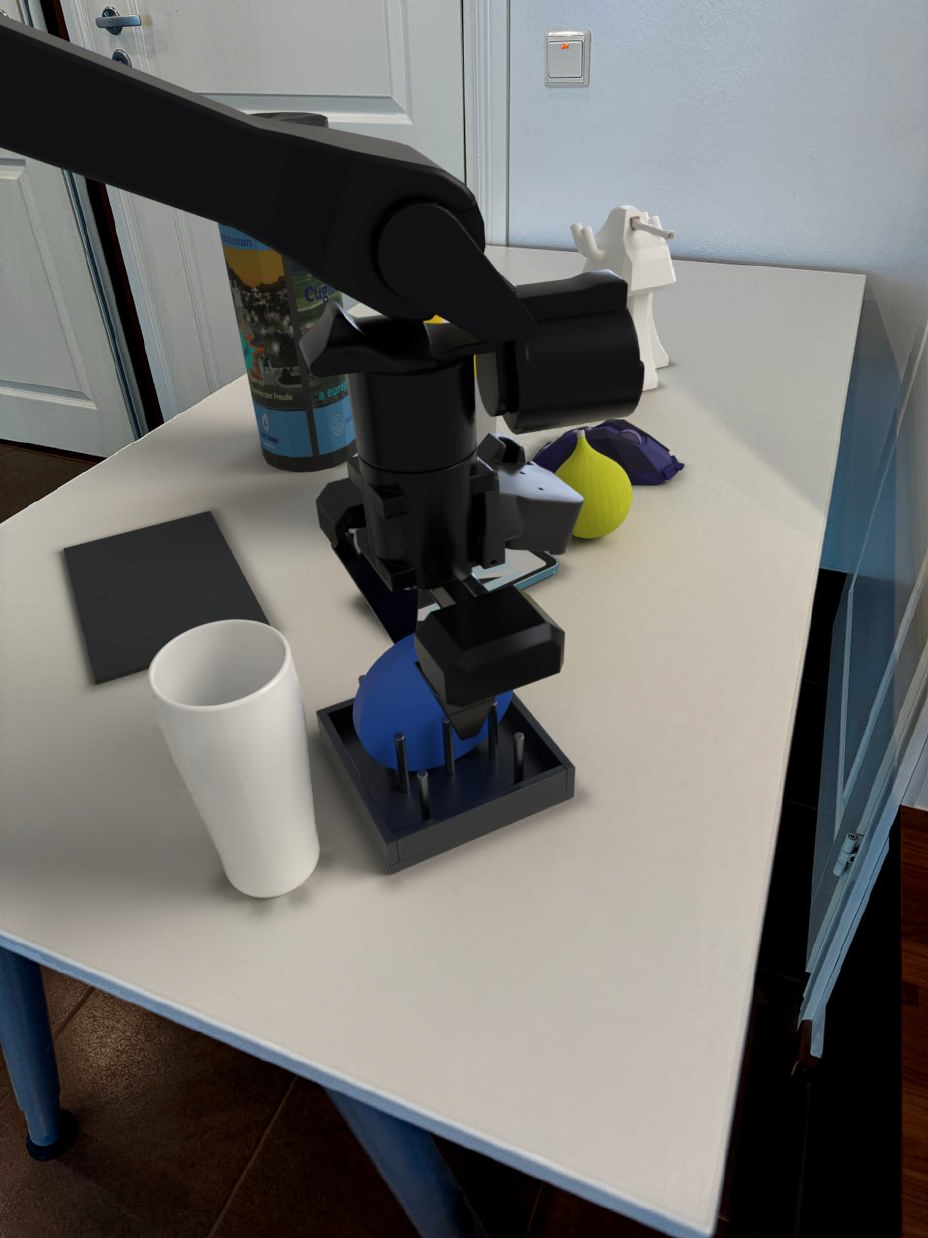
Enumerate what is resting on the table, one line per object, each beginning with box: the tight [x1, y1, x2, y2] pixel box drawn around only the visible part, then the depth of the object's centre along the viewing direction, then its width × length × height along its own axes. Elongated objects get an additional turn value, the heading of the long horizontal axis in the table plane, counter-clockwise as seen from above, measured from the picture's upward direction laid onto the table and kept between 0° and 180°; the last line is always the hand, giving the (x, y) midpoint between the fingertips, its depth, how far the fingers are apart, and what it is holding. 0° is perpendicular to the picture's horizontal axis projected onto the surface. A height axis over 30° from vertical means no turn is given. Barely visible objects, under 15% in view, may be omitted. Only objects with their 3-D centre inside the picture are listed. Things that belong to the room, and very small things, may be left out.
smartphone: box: [417, 549, 560, 628], centre depth 70 cm, size 7×1×15 cm
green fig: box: [554, 427, 634, 539], centre depth 74 cm, size 7×7×10 cm
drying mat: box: [63, 510, 272, 685], centre depth 72 cm, size 13×20×1 cm, turn 26°
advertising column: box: [217, 111, 358, 473], centre depth 82 cm, size 11×11×30 cm
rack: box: [315, 674, 576, 875], centre depth 54 cm, size 12×12×5 cm
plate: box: [353, 633, 514, 771], centre depth 52 cm, size 1×10×10 cm, turn 116°
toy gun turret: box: [570, 204, 677, 392], centre depth 99 cm, size 12×13×18 cm
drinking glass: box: [146, 619, 321, 899], centre depth 45 cm, size 7×7×15 cm
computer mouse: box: [531, 418, 686, 486], centre depth 86 cm, size 9×15×4 cm, turn 64°
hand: (435, 689), depth 51 cm, fingers open, 8 cm apart
